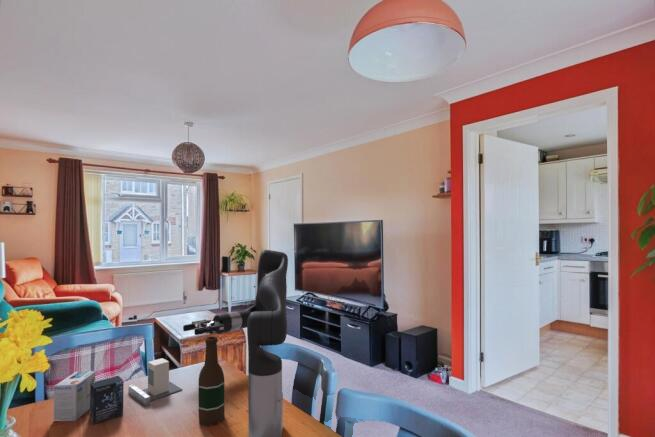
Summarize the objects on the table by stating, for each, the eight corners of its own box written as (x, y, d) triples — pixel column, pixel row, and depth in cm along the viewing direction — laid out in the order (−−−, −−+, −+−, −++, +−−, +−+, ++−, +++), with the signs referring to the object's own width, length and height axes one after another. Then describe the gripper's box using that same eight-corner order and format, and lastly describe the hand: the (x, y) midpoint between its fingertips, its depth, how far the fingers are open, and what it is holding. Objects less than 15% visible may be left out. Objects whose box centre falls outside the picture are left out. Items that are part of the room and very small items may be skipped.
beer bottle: (203, 412, 114) (203, 333, 114) (228, 412, 113) (228, 333, 114) (193, 426, 106) (193, 341, 106) (220, 426, 106) (220, 341, 106)
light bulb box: (74, 405, 119) (74, 371, 119) (96, 404, 120) (96, 370, 120) (52, 422, 109) (52, 385, 109) (76, 421, 109) (76, 384, 109)
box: (93, 424, 107) (94, 387, 107) (89, 417, 111) (89, 382, 111) (123, 415, 112) (124, 380, 113) (118, 408, 117) (118, 374, 117)
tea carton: (168, 390, 128) (168, 361, 129) (153, 395, 124) (153, 365, 125) (162, 386, 132) (162, 358, 132) (147, 391, 128) (147, 362, 128)
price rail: (134, 391, 129) (134, 383, 129) (151, 403, 120) (151, 396, 120) (128, 393, 127) (128, 385, 128) (145, 405, 118) (145, 398, 118)
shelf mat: (169, 382, 136) (169, 381, 136) (182, 390, 129) (182, 389, 129) (134, 393, 127) (134, 392, 127) (146, 402, 120) (146, 401, 120)
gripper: (217, 310, 153) (179, 317, 141) (238, 315, 143) (199, 322, 131) (217, 329, 152) (179, 337, 140) (237, 334, 143) (199, 344, 131)
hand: (189, 330), depth 136 cm, fingers open, 8 cm apart
